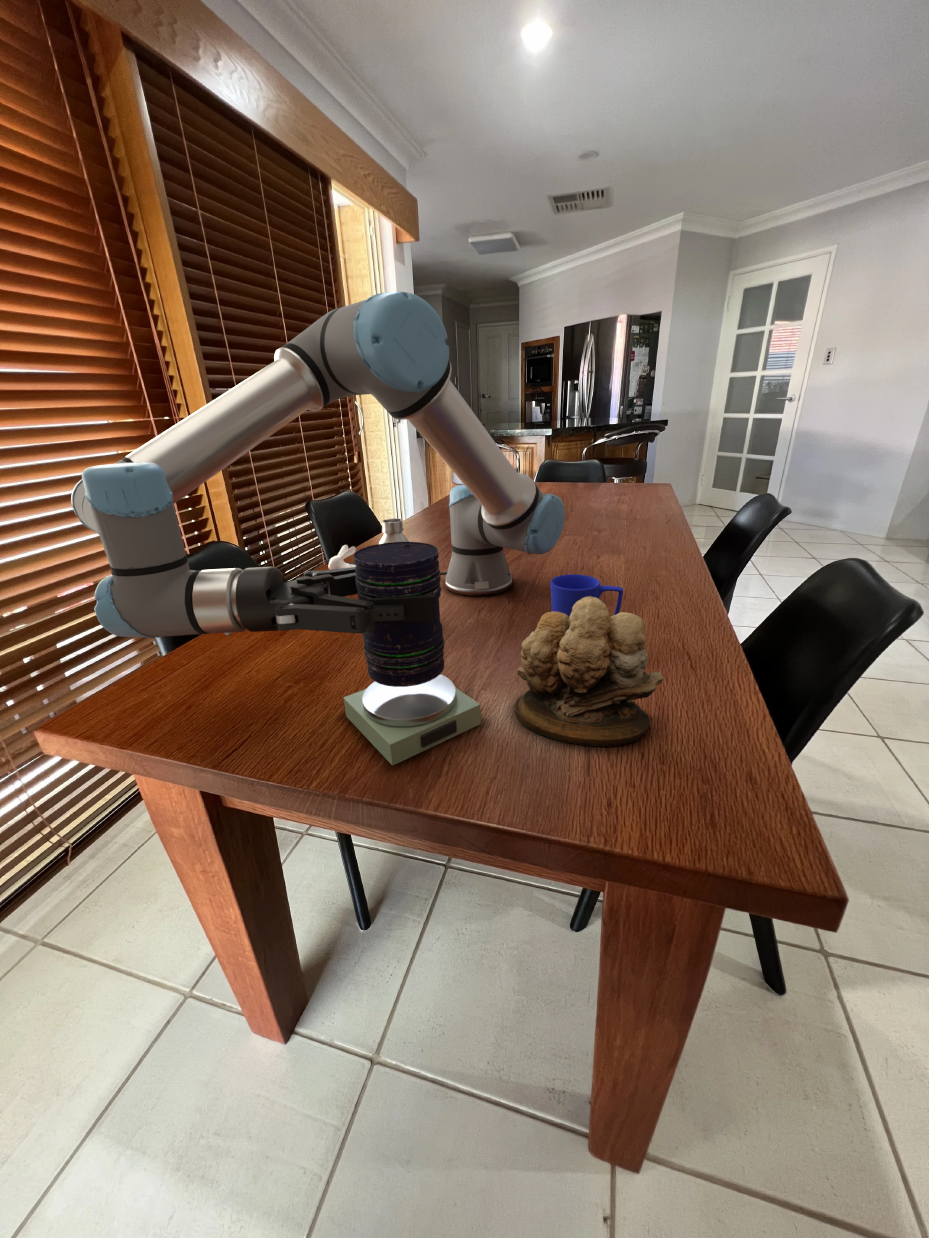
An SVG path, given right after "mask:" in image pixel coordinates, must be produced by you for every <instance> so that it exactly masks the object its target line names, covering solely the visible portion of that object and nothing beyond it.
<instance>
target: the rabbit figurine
mask: <svg viewBox="0 0 929 1238" xmlns="http://www.w3.org/2000/svg"><path fill="white" fill-rule="evenodd" d="M356 551H357V548H356V546H355V545H354V546H353V545H352V546H351V547H349V546H348V544H344V545H342V546H341V548H340V550H339V552H338V553H337V555H334V556H333V557H331V558H329V559H330V561H329V563H328V565H327V566H328V570H333V569H341V568H349V567H356V565H354V564H348V563H349V562H345V561H344V559H346V558H348V557H350V556H352V555H354V553H355V552H356Z"/></svg>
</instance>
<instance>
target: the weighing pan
mask: <svg viewBox="0 0 929 1238" xmlns="http://www.w3.org/2000/svg"><path fill="white" fill-rule="evenodd" d="M456 688H457V687H456V686H455V684H454V683H453V681H452V680H451V679H450V678H449V677H447V676H445V675H443V674H442V673H441V674H440V675H439V676H438V677H436V678H435V679H433V680H431V681H429V682H426V683H423V684H420V685H415V686H409V687H391V686H385V685H382V684H379V683H377V682H375V681H373V682H372V683H371V684H370V685H368V686H367V688H365V689H366V690H365V689H364V690H365V692H364V694H363V698H362V701H363V708H364V711H365V713H366V714H367V715H368V716H369V717H370V718H371V719H373V720H374V721H376V722H379V723H381V724H385V725H390V726H401V727H405V726H416V725H421V724H425V723H428V722H431V721H434V720H436V719H438V718H440V717H442V716H443V715H445V714H446V713H447V712H449V711H450V710H451V709H452V707H453V706H454V704H455V702H456Z"/></svg>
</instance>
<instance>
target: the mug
mask: <svg viewBox="0 0 929 1238" xmlns="http://www.w3.org/2000/svg"><path fill="white" fill-rule="evenodd" d="M604 592H617V593H618V595H617V600H616V601H617V602H616V605H615V606H616V607H615V610H614V612H613V613H614V614H613V615H616V614H618V613H620V612H621V608H622V601H623V596H624V588H623V587H621V586H615V585H601V581H600V580H598V579H597V578H595V577H593V576H589V575H586V574H585V575H584V574H562V575H558V576H554V577H552V579H551V580H550V599H551V600H550V601H551V602H550V603H551V612H552V611H555V612H556V611H557V612H561V613H564V614H566V615H567V616H568V617H569V616H570V615H571V612H572V607H573V605H574V604H575V603H576V602H577V601H579V600H581V599H582V598H585V597H589V596H591V597H596V598H598V599H599V600H600V598H601V595H602V594H603V593H604ZM569 619H570V618H569Z"/></svg>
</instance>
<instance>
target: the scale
mask: <svg viewBox="0 0 929 1238" xmlns="http://www.w3.org/2000/svg"><path fill="white" fill-rule="evenodd" d="M455 688H456V702H455V704H454V706H453V707H452V709H451V710H450V711H449V712H447V713H446V714H445V715H443V716H442V717H440V718H438V719H436V720H434V721H431V722H428V723H425V724H421V725H416V726H405V727H401V726H390V725H385V724H381V723H379V722H376V721H374V720H373V719H371V718H370V717H369V716H368V715H367V714H366V713H365V711H364V708H363V701H362V698H363V694H364V692H365V690H366V689H367V688H365V689H362V690H359V691H357V692H354V693H352V694H348V695H346V696H344V697H343V698H342V699H343V705H344V712H345V717H346V718H347V719H348V720H349V721H350V722H351V724H352V725H354V726H355V728H356V729H357V730H358V731H359V732H360V733H361V735H363V736H364V737H365V738H366V739H367V741H368V742H370V744H371V745H372V746H373V747H374V748H375V749H376V750H377V751H378V752H379V753H380V755H382V756H383V757H384V758H385V760H386V761H387V762H388V763H389V764H390V765H391V766H395V765H398V764H400V763H402V762H403V761H406V760H408V759H410V758H412V757H414V756H416V755H418V754H421V753H422V752H425V751H427V750H429V749H431V748H433V747H436V746H437V745H440V744H441V743H443V742H446V741H448V740H450V739H452V738H455V737H456V736H458V735H461V734H463V733H464V732H467V731H469V730H471V729H473V728H475V727H478V726H479V725H482V722H481V721H482V720H481V718H482V717H481V703H479V702H477V701H476V700H475V699H473V698H472V697H470V696H468V695H467V694H466V693H464V692H463V691H461V690H460V689H459V688H457V687H455Z"/></svg>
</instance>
